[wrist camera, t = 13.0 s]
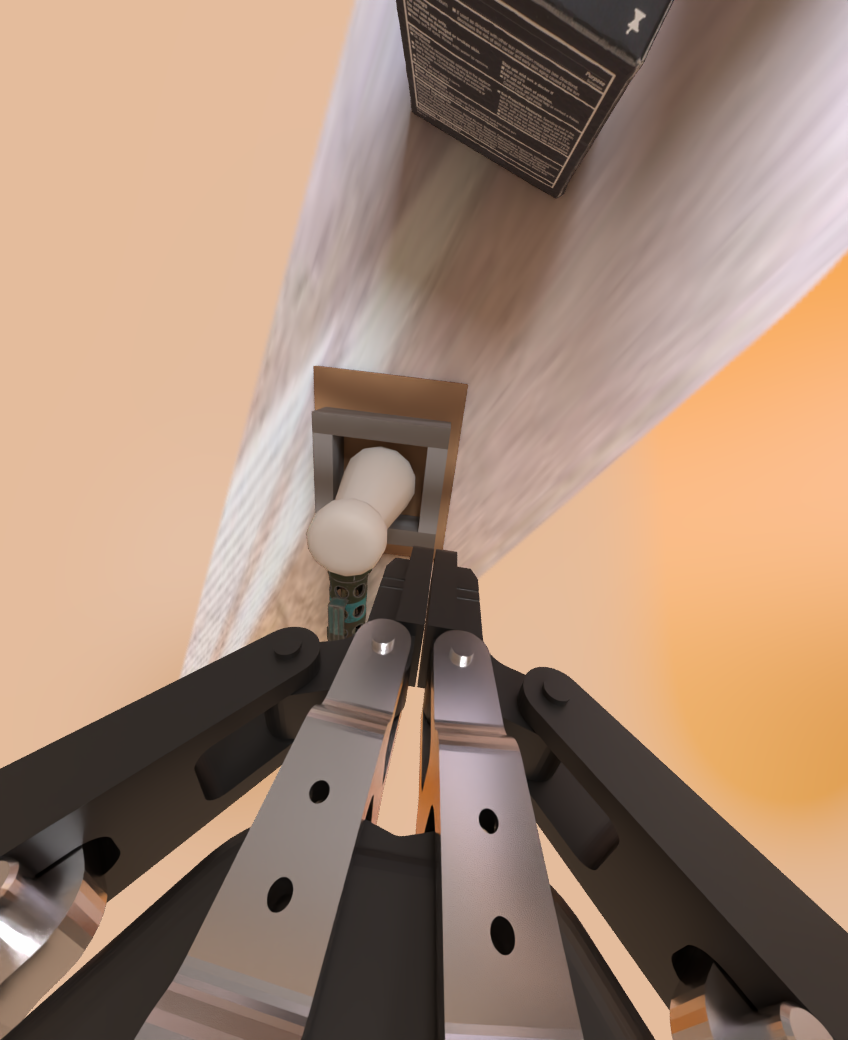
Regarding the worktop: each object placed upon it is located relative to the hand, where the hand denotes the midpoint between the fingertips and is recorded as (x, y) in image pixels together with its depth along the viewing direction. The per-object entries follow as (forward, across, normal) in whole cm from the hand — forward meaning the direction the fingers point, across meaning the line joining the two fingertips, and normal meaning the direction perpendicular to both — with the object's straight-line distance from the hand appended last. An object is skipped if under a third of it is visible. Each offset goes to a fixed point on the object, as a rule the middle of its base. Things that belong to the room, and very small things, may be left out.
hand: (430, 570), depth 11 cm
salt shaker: (+18, +5, +3) cm, 19 cm away
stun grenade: (+19, +7, +19) cm, 27 cm away
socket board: (+19, +5, +4) cm, 20 cm away
